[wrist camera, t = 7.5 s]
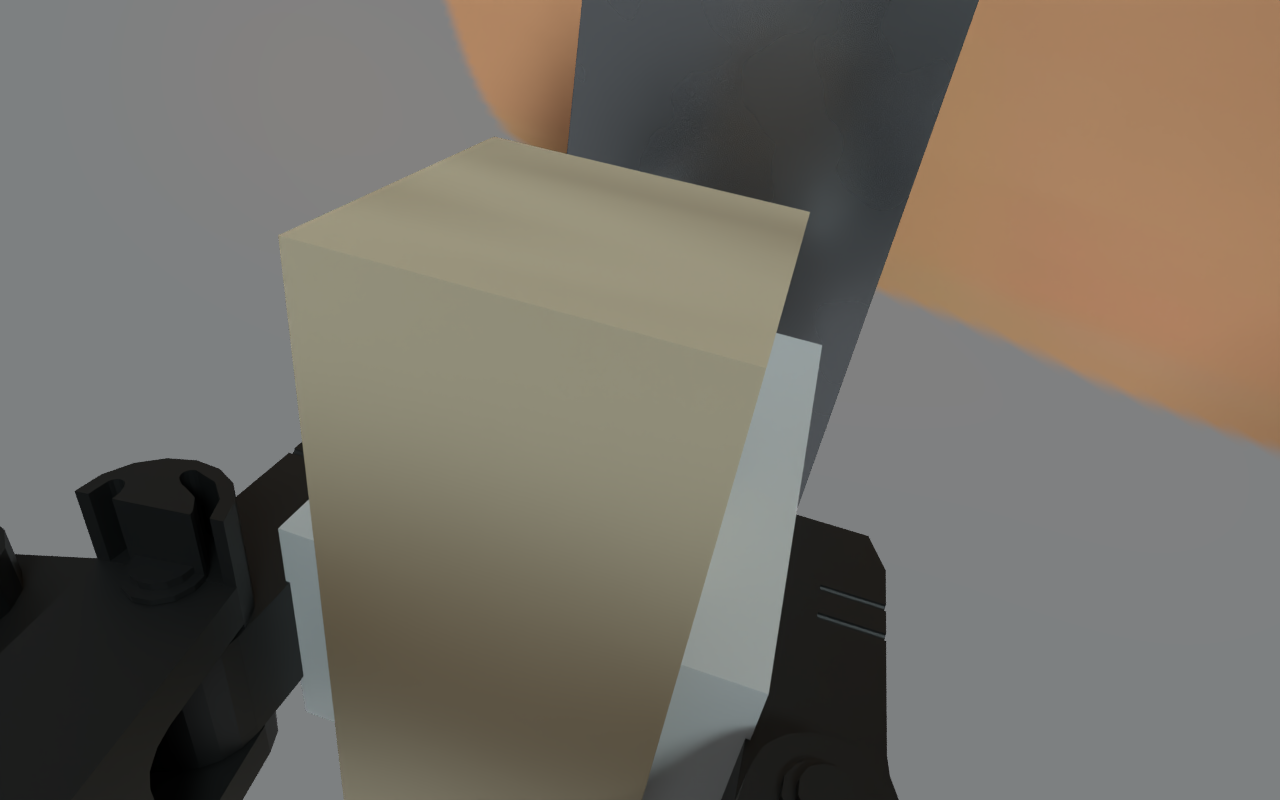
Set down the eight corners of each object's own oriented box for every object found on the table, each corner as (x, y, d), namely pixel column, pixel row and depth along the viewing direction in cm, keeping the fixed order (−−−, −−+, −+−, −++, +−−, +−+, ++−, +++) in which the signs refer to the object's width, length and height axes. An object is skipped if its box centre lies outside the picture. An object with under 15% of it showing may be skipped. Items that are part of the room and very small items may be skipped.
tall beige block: (771, 574, 18) (677, 1103, 10) (537, 501, 19) (267, 927, 10) (1059, -235, 10) (2083, -1350, 1) (620, -297, 11) (-298, -1201, 2)
